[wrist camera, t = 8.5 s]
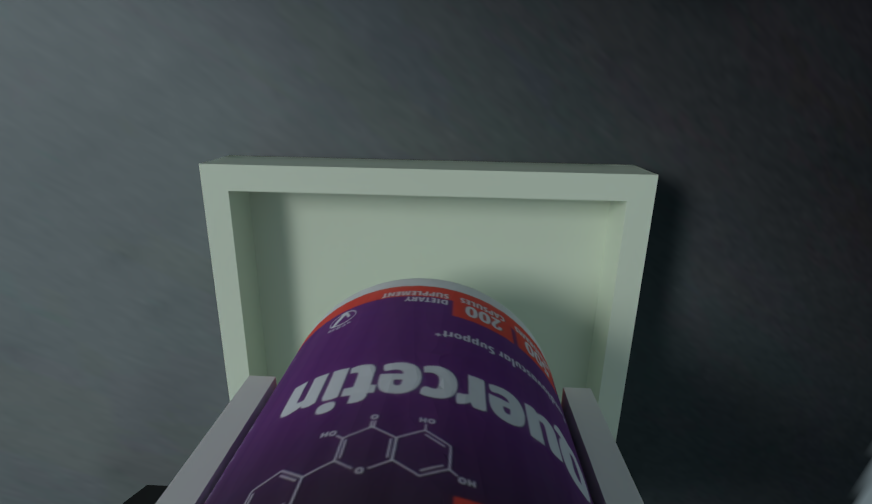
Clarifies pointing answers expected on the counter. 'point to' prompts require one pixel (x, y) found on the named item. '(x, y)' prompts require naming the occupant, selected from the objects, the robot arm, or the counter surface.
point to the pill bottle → (411, 410)
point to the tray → (431, 251)
